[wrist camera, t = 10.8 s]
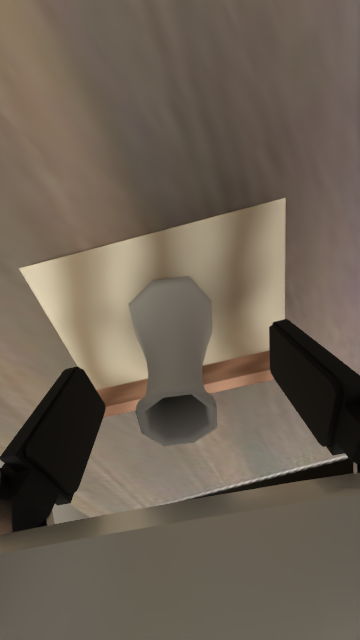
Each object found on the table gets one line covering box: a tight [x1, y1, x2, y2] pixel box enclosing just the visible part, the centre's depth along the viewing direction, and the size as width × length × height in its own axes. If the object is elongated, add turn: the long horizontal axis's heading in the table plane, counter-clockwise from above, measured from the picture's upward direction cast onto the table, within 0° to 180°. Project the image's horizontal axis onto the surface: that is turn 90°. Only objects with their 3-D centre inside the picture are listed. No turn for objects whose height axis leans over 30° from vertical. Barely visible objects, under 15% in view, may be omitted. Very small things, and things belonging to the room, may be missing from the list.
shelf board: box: [19, 198, 286, 417], centre depth 16 cm, size 20×14×4 cm
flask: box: [129, 276, 217, 446], centre depth 12 cm, size 7×7×10 cm
